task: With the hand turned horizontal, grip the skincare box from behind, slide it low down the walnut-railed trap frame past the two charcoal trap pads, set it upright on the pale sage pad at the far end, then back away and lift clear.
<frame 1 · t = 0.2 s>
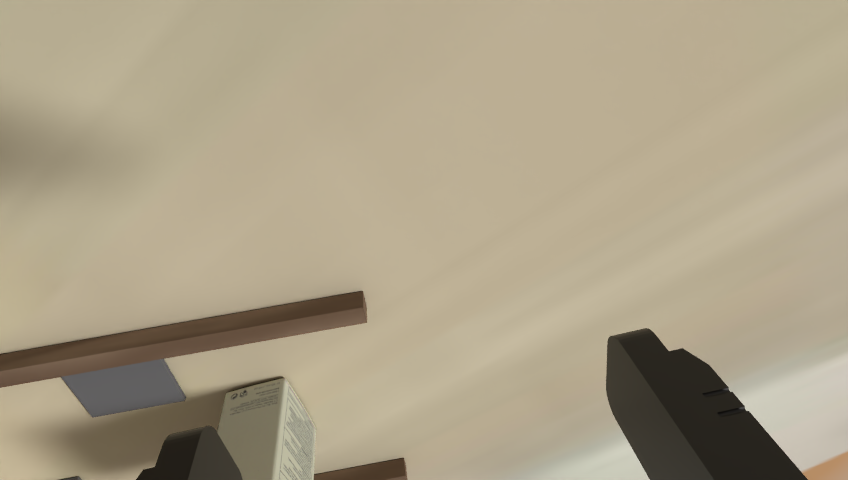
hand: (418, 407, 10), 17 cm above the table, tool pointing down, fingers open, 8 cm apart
skincare box: (274, 409, 35), on the table
trap frame: (100, 443, 35), on the table
trap pads: (100, 443, 35), resting in trap frame
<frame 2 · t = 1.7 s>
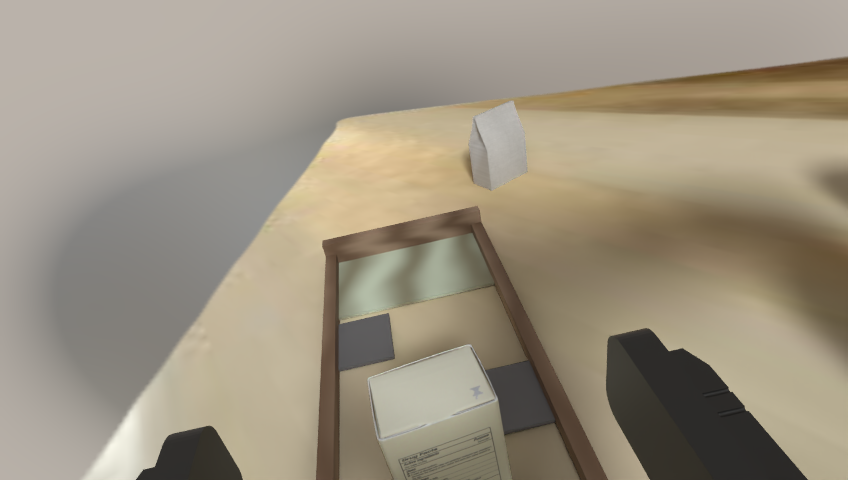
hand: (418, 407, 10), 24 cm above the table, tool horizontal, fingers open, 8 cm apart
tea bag: (500, 179, 71), on the table
trap frame: (432, 375, 42), on the table
trap pads: (432, 375, 42), resting in trap frame
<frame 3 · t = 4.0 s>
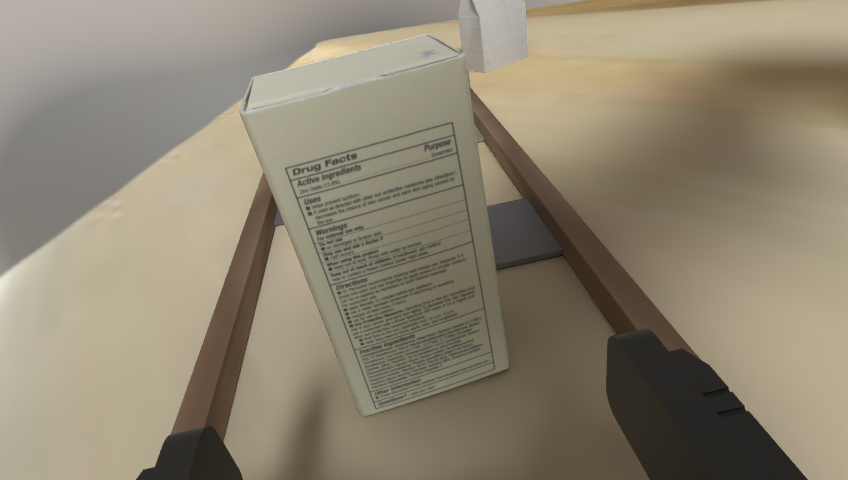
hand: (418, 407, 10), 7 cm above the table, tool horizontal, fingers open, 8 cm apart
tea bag: (496, 65, 60), on the table
skincare box: (422, 362, 21), on the table
trap frame: (396, 222, 31), on the table
trap pads: (396, 222, 31), resting in trap frame
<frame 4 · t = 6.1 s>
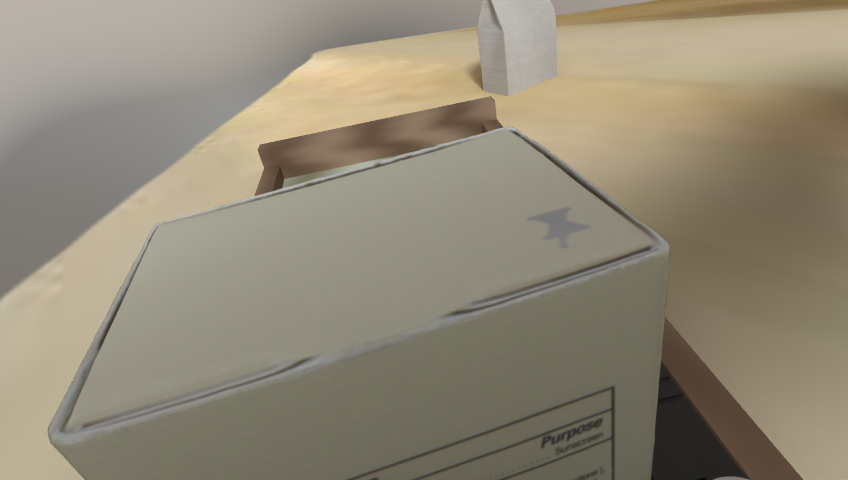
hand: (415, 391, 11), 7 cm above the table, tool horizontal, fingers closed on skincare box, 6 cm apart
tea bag: (520, 85, 52), on the table
trap frame: (415, 325, 23), on the table
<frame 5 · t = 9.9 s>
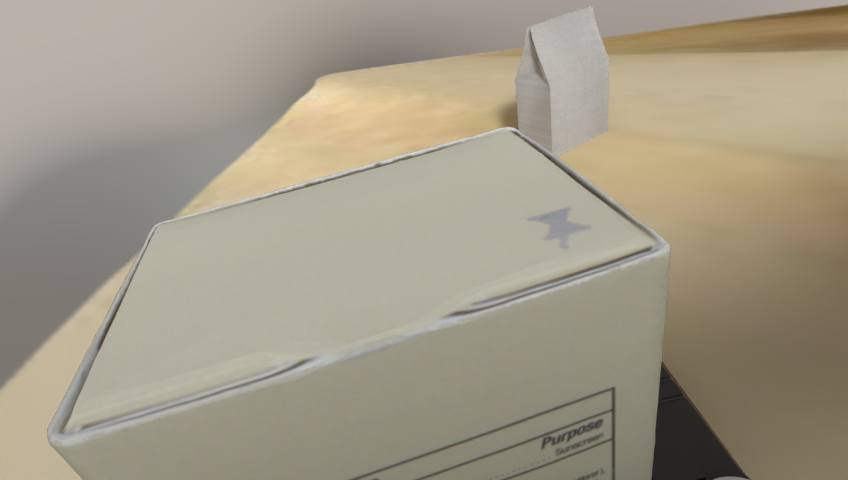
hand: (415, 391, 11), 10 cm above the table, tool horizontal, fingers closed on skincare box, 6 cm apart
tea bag: (563, 142, 44), on the table
when the fingers open (8 cm above the table, at t = 13.9 s): skincare box stays where it is, resting on trap frame.
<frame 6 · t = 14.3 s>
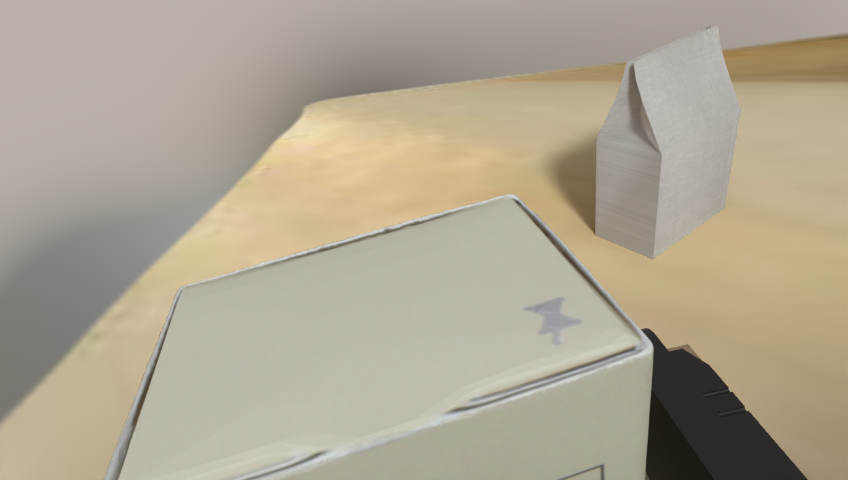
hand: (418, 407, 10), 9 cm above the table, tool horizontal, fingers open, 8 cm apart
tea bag: (659, 224, 29), on the table
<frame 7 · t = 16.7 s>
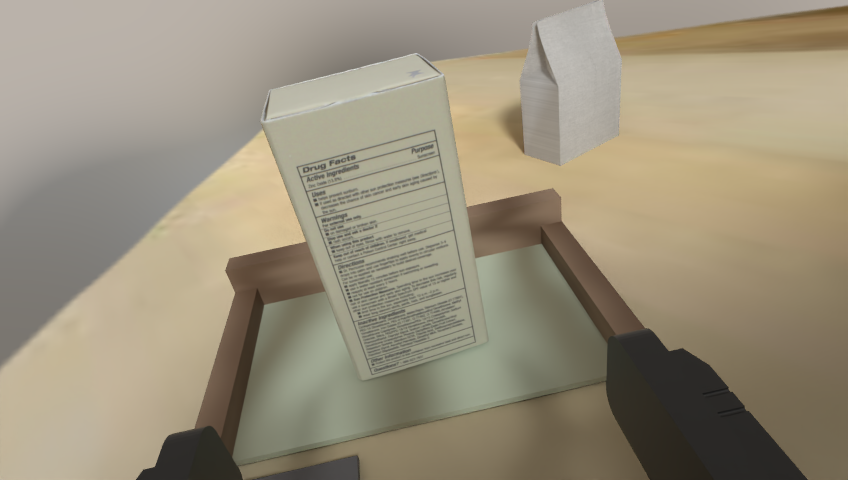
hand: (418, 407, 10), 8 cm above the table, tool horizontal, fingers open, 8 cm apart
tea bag: (571, 147, 40), on the table
skincare box: (414, 337, 24), resting on trap frame
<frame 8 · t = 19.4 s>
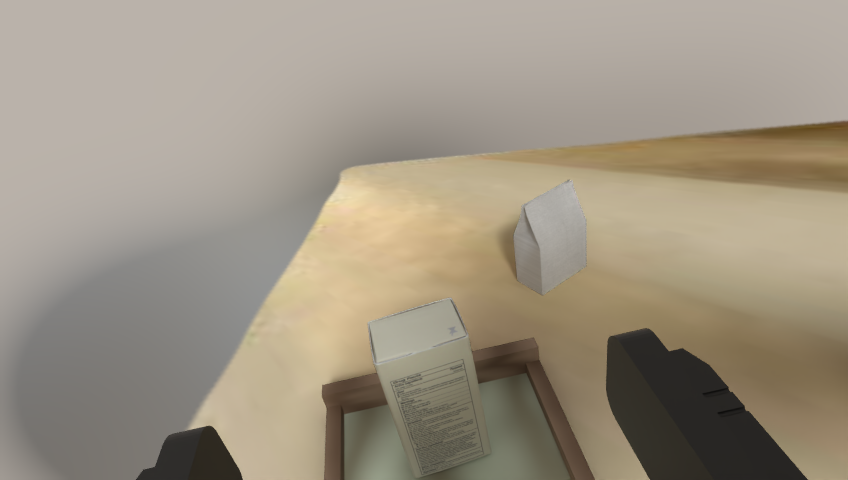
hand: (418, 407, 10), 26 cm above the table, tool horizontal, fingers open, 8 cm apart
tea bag: (551, 275, 55), on the table
skincare box: (445, 446, 39), resting on trap frame
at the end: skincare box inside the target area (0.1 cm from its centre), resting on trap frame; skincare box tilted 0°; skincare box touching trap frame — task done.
